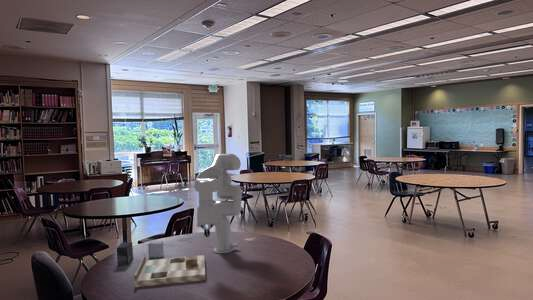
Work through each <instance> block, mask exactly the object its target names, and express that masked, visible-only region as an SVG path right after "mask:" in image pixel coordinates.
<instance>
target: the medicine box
mask: <svg viewBox="0 0 533 300" xmlns="http://www.w3.org/2000/svg"><path fill="white" fill-rule="evenodd" d="M147 249H148V258H162V257H164V255H165V254H164V242H163V241H150V242H149V243H147Z"/></svg>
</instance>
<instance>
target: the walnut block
mask: <svg viewBox="0 0 533 300" xmlns="http://www.w3.org/2000/svg"><path fill="white" fill-rule="evenodd" d="M197 256H198V255H190V256H185V257H186V260H185V261H186V268H188V267H197Z"/></svg>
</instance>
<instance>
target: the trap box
mask: <svg viewBox="0 0 533 300" xmlns="http://www.w3.org/2000/svg"><path fill="white" fill-rule="evenodd" d="M196 256H197V267H188V268H186V261H185V260H186V257H187V256H183V257H182V256H181V257H169V258H159V259H148V260H146V259H147V258H146V255H143V256H142V258H141V260H140V262H139V265H138V266H137V269H136V271H135V273H134V276H133V277H134V278H133V279H134V288H140V287H141V288H142V287H150V286H160V285H161V286H162V285H172V284H180V283H181V284H182V283H190V282H198V281H206V265H205V263H206V262H205V254H204V255H196Z"/></svg>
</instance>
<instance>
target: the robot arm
mask: <svg viewBox="0 0 533 300" xmlns="http://www.w3.org/2000/svg"><path fill="white" fill-rule="evenodd" d="M241 164H242V163H241V159H240V157H239V156H237V155H235V154H234V153H218V154H215V155H214V156H213V158H212V160H211V162H210V165H209V166H208V167H206V168H205V169H203V170H202V171H200V172H199V173H198V174H197V176H196V178H195V180H194V183H193V186H194V187H193V188H194V190H195V191H196V192H197V193H198V205H197V208H196V209H197V211H196V222H197V223H196V227H197V228H201V229H202V230H204V231H203V232H204V233H203V235H204V237H205V238H209V237H210V236H211V229H212V228H213V227H214V230H215V231H214V233H215V234H214V236H215V247H214V248H213V249H212V250H213V251H212V252H213V253H215V254H227V253H228V254H229V253H231V252H233V251H234V248H238V247H239V243H236V242H235V243H232V241H231V222H230V220H229V219H230V218H228V217H237V216H240V214H241V210H242V197H243V195H242V194H243V192H242V189H243V188H242V187H241V186H240V185H239V184H232V176H231V175H230V174H229V173H228V171H239V169H240V168H241ZM214 193H216V197H217V198H218V199H220V200H217V201H216V200H214V196H213V194H214ZM206 225H207V227H206Z"/></svg>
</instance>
